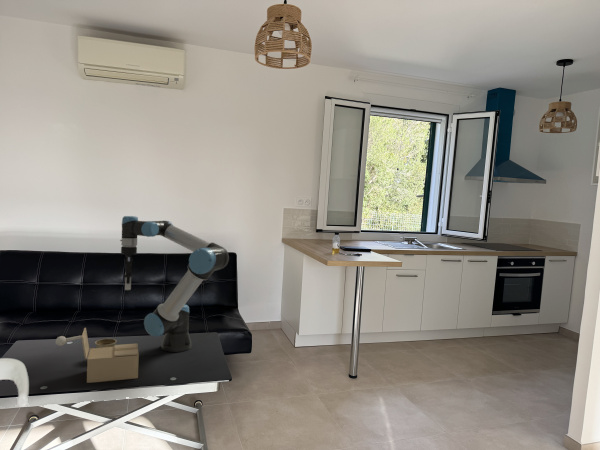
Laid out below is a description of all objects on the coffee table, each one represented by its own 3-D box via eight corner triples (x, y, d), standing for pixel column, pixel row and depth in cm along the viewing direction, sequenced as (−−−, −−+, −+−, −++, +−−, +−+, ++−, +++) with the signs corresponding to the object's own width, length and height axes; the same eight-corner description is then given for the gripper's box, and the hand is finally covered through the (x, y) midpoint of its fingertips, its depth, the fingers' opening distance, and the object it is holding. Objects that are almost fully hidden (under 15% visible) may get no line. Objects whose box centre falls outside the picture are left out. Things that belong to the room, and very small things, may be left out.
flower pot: (108, 363, 204) (108, 345, 203) (90, 361, 206) (90, 343, 205) (120, 357, 213) (120, 339, 213) (102, 354, 215) (103, 337, 215)
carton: (137, 366, 203) (138, 343, 202) (137, 378, 190) (138, 353, 189) (89, 370, 195) (90, 346, 195) (86, 382, 182) (87, 356, 182)
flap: (85, 327, 193) (57, 332, 189) (82, 336, 181) (52, 342, 177) (89, 348, 194) (61, 354, 190) (86, 358, 182) (56, 365, 178)
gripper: (121, 243, 234) (120, 282, 235) (120, 248, 211) (119, 292, 212) (136, 243, 237) (135, 282, 238) (137, 249, 214) (136, 291, 215)
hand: (127, 287), depth 225 cm, fingers open, 13 cm apart
